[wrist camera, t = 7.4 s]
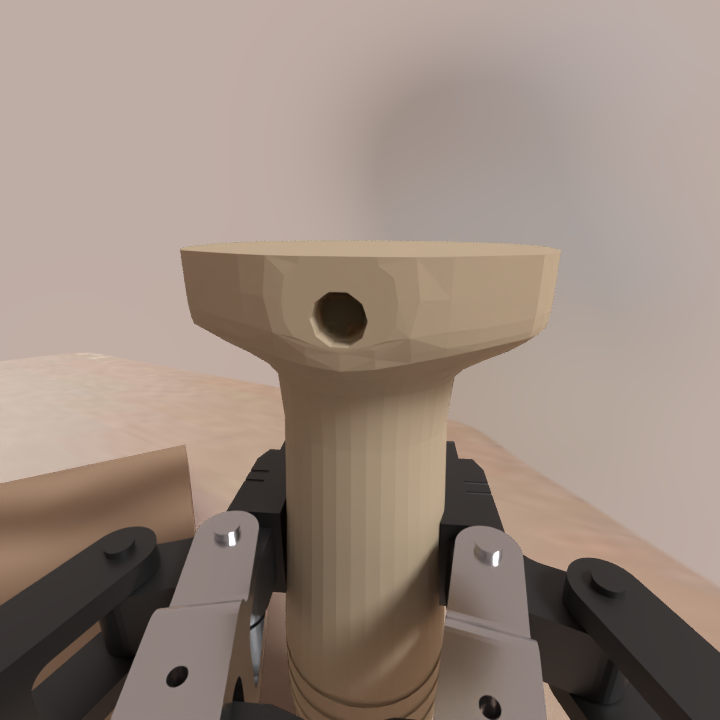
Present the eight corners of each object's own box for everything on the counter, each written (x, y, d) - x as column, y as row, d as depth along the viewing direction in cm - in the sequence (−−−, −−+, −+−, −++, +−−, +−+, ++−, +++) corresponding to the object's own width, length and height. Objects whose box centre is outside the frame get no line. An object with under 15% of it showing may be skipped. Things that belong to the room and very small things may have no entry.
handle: (483, 919, 9) (612, 260, 5) (226, 851, 10) (112, 253, 6) (466, 694, 14) (523, 242, 9) (288, 661, 15) (255, 239, 10)
